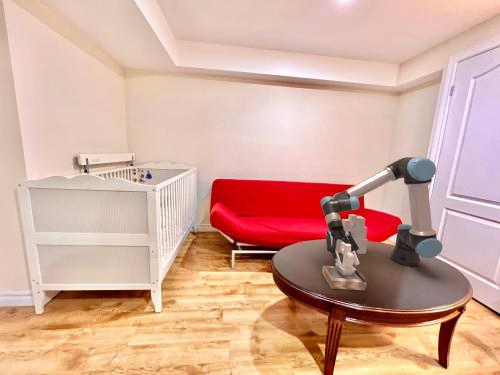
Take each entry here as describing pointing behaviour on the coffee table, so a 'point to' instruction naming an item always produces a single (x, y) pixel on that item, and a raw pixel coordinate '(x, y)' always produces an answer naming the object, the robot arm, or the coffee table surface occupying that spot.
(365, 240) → the building blocks
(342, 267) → the figurine
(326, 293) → the coffee table surface
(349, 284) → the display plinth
